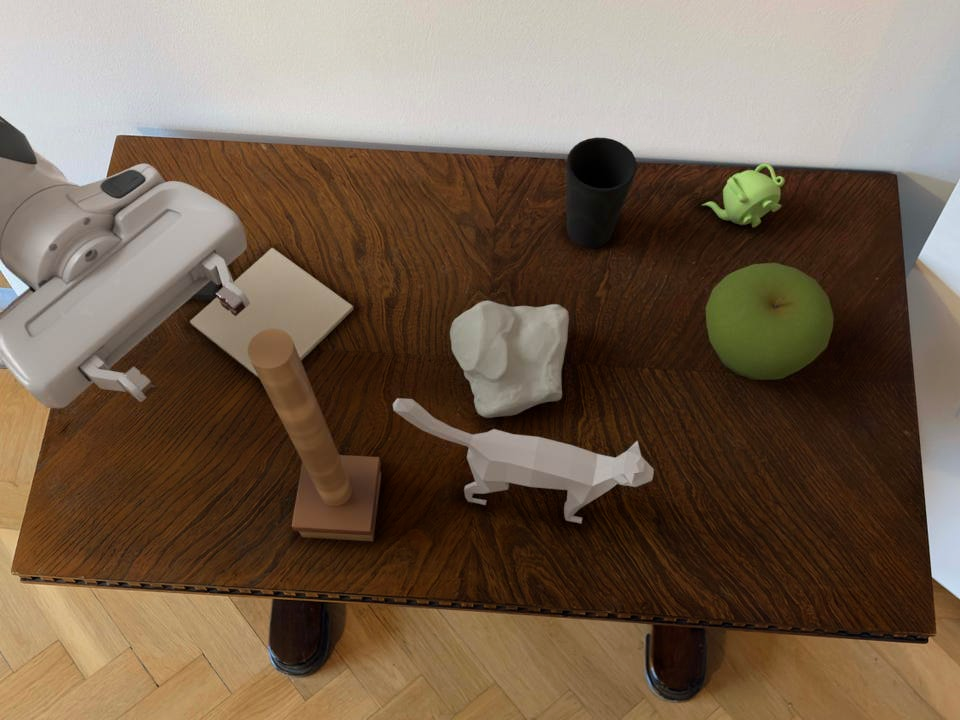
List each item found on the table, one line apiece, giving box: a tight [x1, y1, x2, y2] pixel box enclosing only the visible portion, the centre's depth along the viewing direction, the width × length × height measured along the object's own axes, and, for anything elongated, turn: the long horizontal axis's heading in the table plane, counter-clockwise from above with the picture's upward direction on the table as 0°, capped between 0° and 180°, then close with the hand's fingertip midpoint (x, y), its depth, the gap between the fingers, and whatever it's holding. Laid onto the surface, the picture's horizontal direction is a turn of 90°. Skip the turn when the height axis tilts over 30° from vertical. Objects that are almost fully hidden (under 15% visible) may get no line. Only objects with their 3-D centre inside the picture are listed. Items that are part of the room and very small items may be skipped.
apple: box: [705, 262, 834, 381], centre depth 75 cm, size 11×10×10 cm
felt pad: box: [189, 281, 221, 301], centre depth 83 cm, size 4×4×1 cm
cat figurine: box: [392, 397, 655, 524], centre depth 67 cm, size 4×20×14 cm, turn 78°
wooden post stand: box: [248, 329, 382, 542], centre depth 60 cm, size 6×6×28 cm
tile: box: [189, 247, 354, 379], centre depth 81 cm, size 11×11×1 cm
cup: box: [566, 136, 638, 249], centre depth 82 cm, size 6×6×10 cm
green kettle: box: [701, 163, 786, 228], centre depth 84 cm, size 6×5×6 cm
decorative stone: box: [449, 300, 570, 419], centre depth 76 cm, size 11×9×10 cm
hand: (195, 347), depth 63 cm, fingers open, 8 cm apart
